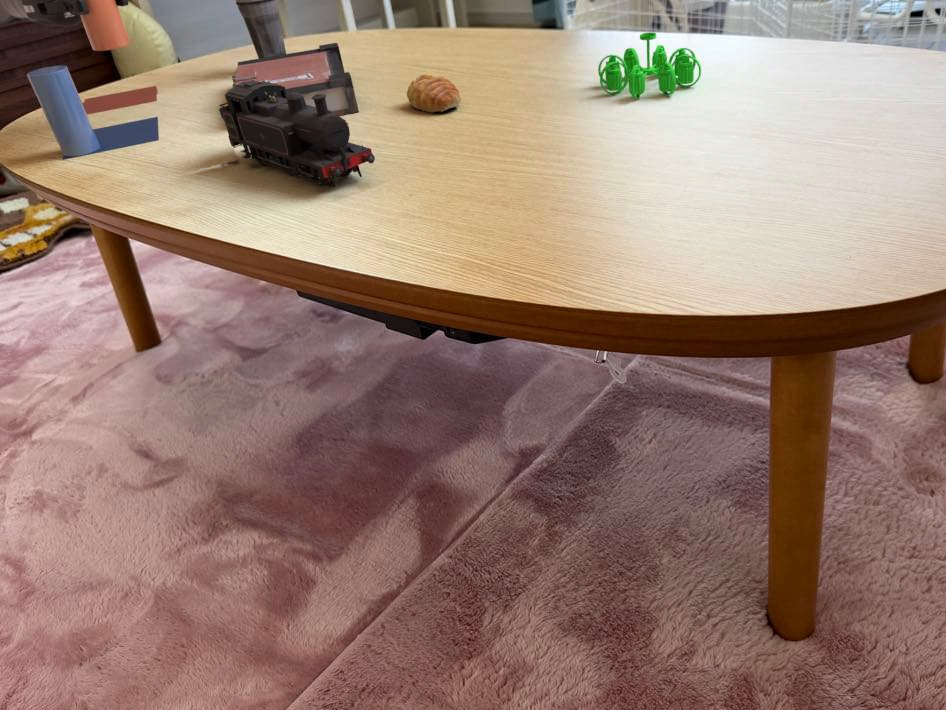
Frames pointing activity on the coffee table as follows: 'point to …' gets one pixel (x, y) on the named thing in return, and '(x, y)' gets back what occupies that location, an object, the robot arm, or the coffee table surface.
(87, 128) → the tall blue cylinder
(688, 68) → the chandelier
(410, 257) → the coffee table surface
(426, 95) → the pastry
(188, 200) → the coffee table surface
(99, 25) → the tall orange cylinder
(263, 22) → the beverage cup
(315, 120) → the toy train
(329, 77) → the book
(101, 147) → the blue mat
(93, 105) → the terracotta mat
